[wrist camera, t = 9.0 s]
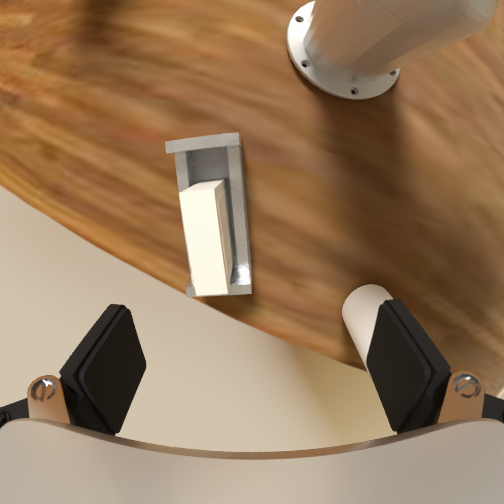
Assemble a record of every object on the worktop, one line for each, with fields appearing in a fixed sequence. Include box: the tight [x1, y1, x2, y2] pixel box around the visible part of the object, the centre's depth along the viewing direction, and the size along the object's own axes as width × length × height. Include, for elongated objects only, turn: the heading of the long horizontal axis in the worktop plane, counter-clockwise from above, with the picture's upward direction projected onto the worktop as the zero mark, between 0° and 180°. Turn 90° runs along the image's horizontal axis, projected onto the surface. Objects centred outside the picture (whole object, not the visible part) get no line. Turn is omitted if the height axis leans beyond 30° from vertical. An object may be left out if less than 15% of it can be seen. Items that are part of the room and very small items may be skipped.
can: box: [342, 284, 393, 377], centre depth 27 cm, size 6×6×12 cm
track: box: [165, 133, 252, 297], centre depth 26 cm, size 14×6×6 cm, turn 4°
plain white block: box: [179, 179, 234, 296], centre depth 24 cm, size 8×3×8 cm, turn 5°
